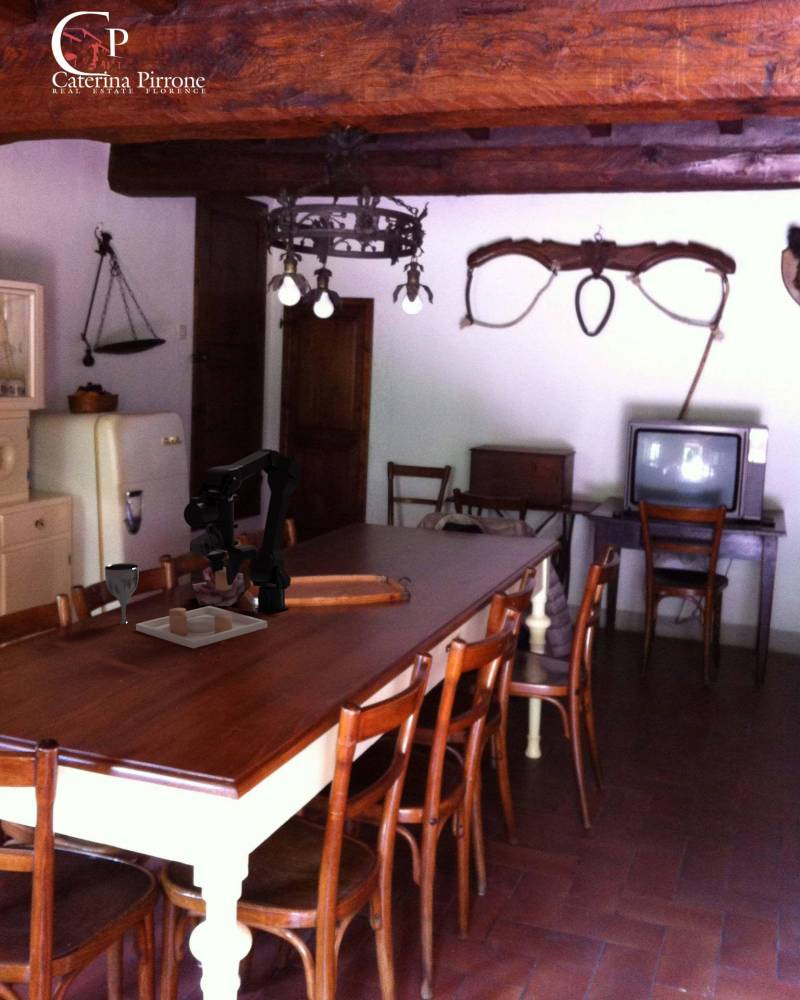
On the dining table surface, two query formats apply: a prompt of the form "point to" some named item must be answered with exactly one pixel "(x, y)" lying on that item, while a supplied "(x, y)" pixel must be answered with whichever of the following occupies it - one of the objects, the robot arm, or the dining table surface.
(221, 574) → the pale tan cube
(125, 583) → the wine glass
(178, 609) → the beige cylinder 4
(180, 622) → the seated bead
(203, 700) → the dining table surface
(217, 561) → the robot arm
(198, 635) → the groove dish
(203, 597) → the flower
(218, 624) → the beige cube
